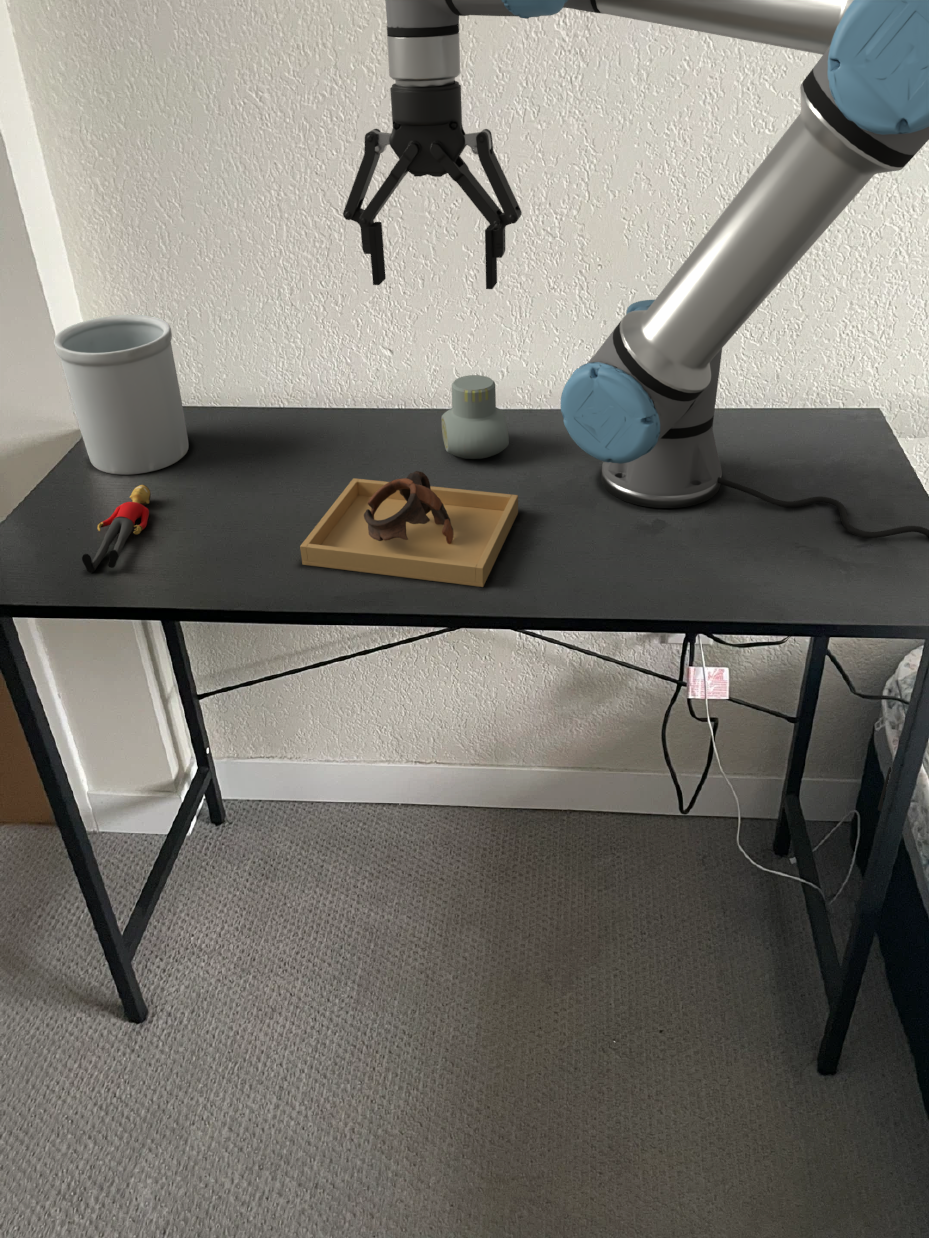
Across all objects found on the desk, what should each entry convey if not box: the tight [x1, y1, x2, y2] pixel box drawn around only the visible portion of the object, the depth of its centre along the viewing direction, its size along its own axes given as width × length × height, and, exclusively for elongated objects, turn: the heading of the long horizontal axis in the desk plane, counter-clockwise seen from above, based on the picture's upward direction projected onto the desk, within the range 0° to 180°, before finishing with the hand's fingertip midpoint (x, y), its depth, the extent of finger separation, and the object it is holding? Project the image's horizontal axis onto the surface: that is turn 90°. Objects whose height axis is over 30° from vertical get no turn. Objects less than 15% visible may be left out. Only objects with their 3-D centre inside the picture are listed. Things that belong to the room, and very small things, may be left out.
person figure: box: [81, 484, 152, 574], centre depth 124 cm, size 5×4×18 cm
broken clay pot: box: [364, 470, 454, 544], centre depth 121 cm, size 12×10×8 cm
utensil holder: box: [53, 314, 190, 476], centre depth 139 cm, size 15×15×18 cm
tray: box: [299, 477, 519, 588], centre depth 122 cm, size 22×18×2 cm
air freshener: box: [441, 374, 510, 460], centre depth 139 cm, size 11×8×10 cm
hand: (434, 284), depth 120 cm, fingers open, 13 cm apart
